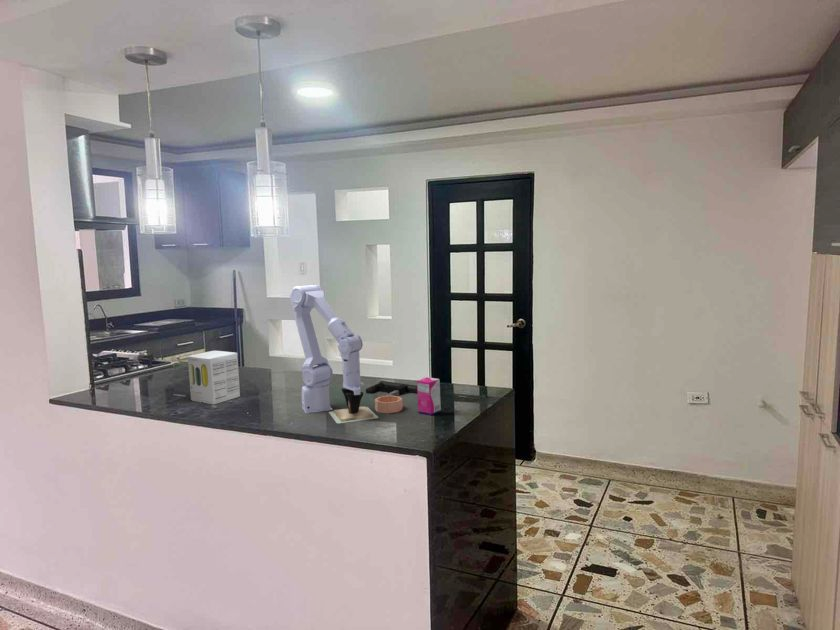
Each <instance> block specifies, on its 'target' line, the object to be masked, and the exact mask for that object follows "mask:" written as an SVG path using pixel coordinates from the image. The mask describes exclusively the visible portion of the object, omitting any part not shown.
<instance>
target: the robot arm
mask: <svg viewBox="0 0 840 630" xmlns="http://www.w3.org/2000/svg"><path fill="white" fill-rule="evenodd" d="M289 298H290V299H289V300H290V302H291V306H292V311H293V312H292V313H293V317H294V320H295V324H296V327H297V332H298V335H299V338H300V343H301V346H302V349H303V354H304V357H305V360H304V363H303V364H302V365H301V372H302V374H301V375H302V380H303V383H304V384H305V385H303V386H301V408H302V410H303V411H304V414H311V413H318V412H327V411H332V410H333V407H332V406H331V404H330V388H329V384H330V382H331V380H332V379H333V375H334V374H333V368H332V367H331V365H330V364H329V360H328V359H327V358H325V357H324V356H323V355H322V354H321V350H320V346H319V343H318V339H317V335H316V330H315V328H314V324H313V321H312V317H311V312H312V309H314V308H315V309H316V311H317V312H318V313H319V315H321V317H322V318H323V319H324V320H325V321H326V323H328V324H327V330H328V331H329V333H331V335H332V336H333V338H334V339H335V341H336V342H337V343H338V344H337V348H338V351H339V353H340V358H341V360H342V361H341V362H342V363H341V364H342V381H343V384H342V388H341V392H342V394H343V396H344V399H345V403H346V407H347V408H348V401H349V403H350V409H351V412H352V413H358V411H359V407H360V406H361V405H360V404H361V400H362V398H363V396H364V392H363V391H361V387H362V386H365V383H364V382H361V364H360V351H361V350H362V348H363V347H364V346H363V340H362V338H361V336H360V335H358V334H356V333H355V332H352V330H351V329H350V328H349V327H348V325H347V323H346V321H345V320H344V319H342V318H340V317H337V316H336V314H335V313H334V311H333V310H332V308H331V307H330V304H329V303H328V301H327V300H326V299H325V292H324V291H323V290H322V288H321V286H320V285H318V284H316V283H315V284H311V285H296V286H294V287H293V288H292V290H291V292H290V294H289Z"/></svg>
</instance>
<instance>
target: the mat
mask: <svg viewBox="0 0 840 630" xmlns="http://www.w3.org/2000/svg"><path fill="white" fill-rule="evenodd" d="M365 407H366V408H367V409H368V410H369V411H370V412H371V413H372V414H373V417H371V418H364V419H356V420H349V421H342V422H341V421H340V420H339V419H338V417H337V416H336V415H335V414H334V411H332V410H331V411H328V413H329V415H330V416H331V417H332V419H333V420H334V421H335V423H336V424H346V423H352V422H359V421H361V422H362V421H367V420H373V419H379V416H378V415H376V413H375V412H374V411H372V410H371V409H370V408H369V406H365Z"/></svg>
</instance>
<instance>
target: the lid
mask: <svg viewBox="0 0 840 630" xmlns="http://www.w3.org/2000/svg"><path fill="white" fill-rule="evenodd" d="M366 407H367V406H364V405H363V406H359V411H358V413H352V412H351V409H350V403H349V401H348V407H347V408H340V409H334V410H333V411H334V414H335V415H336V416H337V417H338V419H339V420H340V421H341V422H342V421H349V420H356V419H364V418H371V417H373V414H372V413H371V412H370V411H369V410H368V409H367V408H366Z"/></svg>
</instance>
